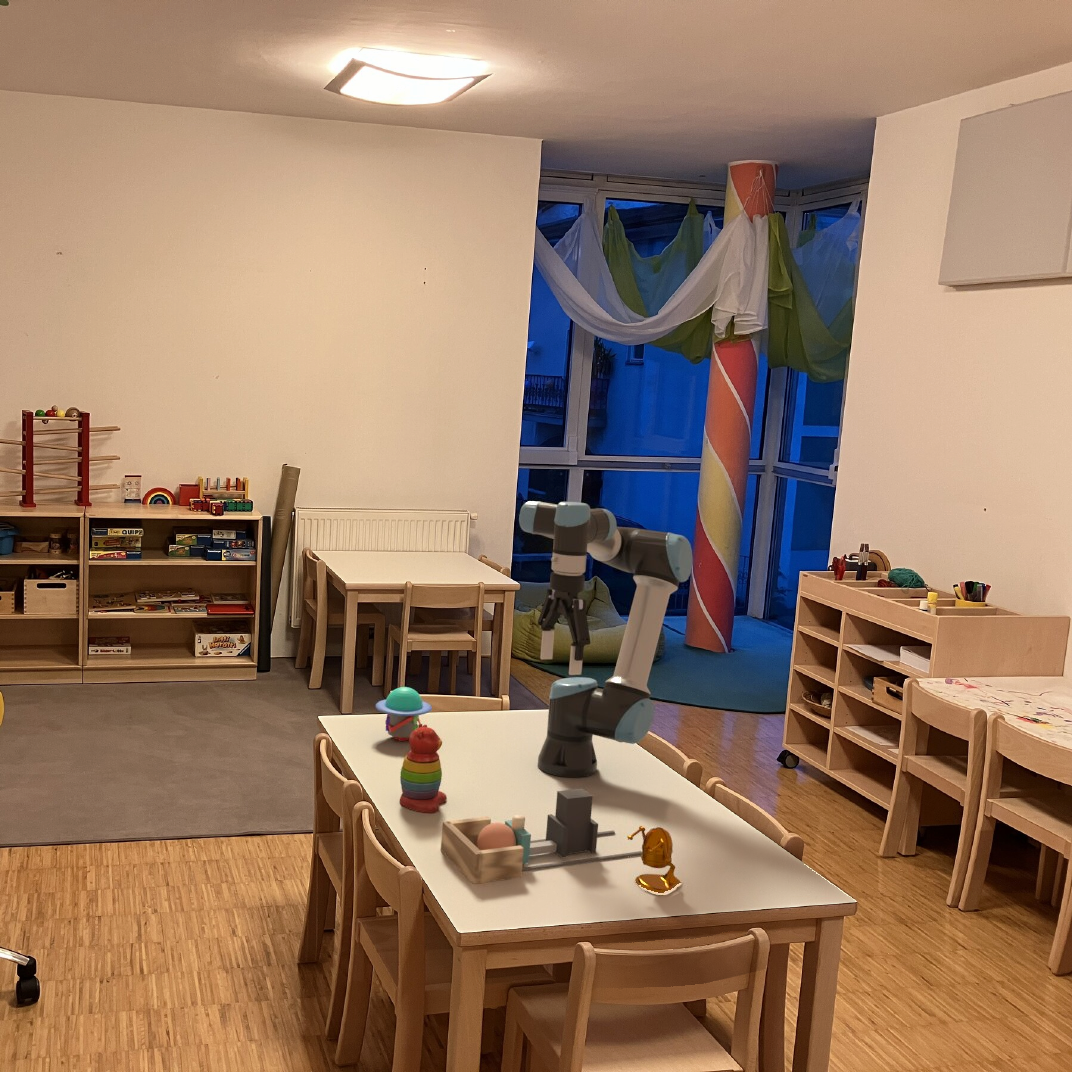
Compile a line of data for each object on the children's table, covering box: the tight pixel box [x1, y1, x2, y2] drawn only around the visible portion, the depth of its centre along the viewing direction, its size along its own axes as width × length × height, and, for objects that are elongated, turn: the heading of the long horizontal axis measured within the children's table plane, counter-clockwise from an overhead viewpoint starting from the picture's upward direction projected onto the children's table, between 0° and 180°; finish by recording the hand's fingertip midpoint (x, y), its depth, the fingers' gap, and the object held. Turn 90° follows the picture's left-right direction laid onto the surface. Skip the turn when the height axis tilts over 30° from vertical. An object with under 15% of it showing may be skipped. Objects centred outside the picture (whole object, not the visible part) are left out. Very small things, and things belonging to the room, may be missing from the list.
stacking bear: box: [399, 724, 448, 814], centre depth 261 cm, size 11×10×18 cm
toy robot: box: [375, 686, 433, 742], centre depth 307 cm, size 15×15×14 cm
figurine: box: [627, 825, 682, 893], centre depth 227 cm, size 8×11×12 cm
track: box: [522, 830, 642, 873], centre depth 242 cm, size 29×12×1 cm, turn 117°
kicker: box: [504, 788, 599, 865], centre depth 239 cm, size 20×8×12 cm, turn 117°
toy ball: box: [477, 822, 516, 850], centre depth 233 cm, size 8×8×8 cm
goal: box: [440, 816, 524, 885], centre depth 232 cm, size 10×17×6 cm, turn 27°
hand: (560, 666), depth 256 cm, fingers open, 13 cm apart
